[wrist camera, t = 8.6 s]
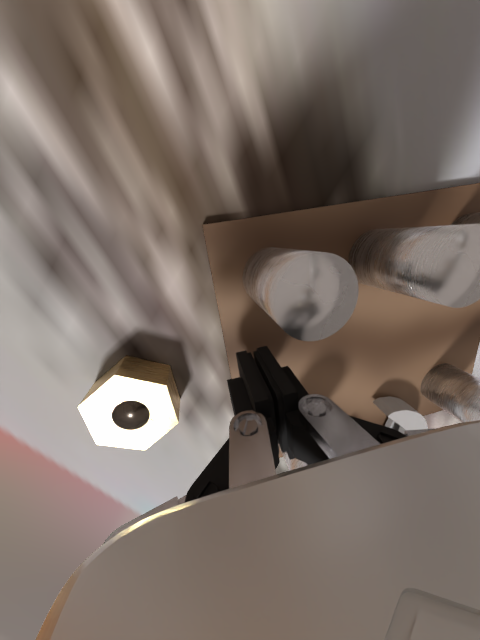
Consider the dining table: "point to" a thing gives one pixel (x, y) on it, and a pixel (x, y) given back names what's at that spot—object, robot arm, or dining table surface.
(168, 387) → the nut
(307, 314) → the spacers
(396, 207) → the board
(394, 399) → the adjustable wrench
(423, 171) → the dining table surface
